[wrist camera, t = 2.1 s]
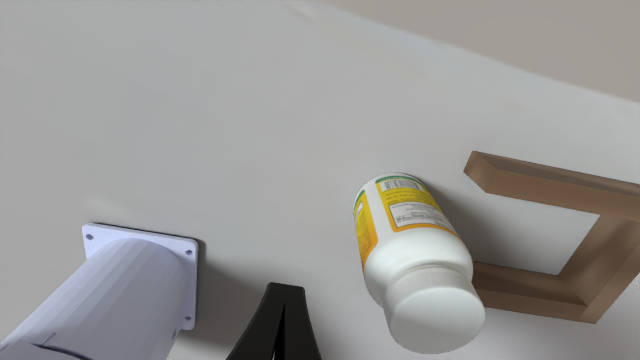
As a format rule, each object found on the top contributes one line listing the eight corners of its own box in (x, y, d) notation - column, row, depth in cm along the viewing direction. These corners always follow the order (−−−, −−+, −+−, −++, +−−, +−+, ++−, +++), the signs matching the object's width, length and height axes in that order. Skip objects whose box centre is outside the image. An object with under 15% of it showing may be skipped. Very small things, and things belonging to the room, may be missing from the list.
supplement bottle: (401, 155, 19) (466, 249, 11) (442, 209, 21) (527, 329, 13) (336, 201, 21) (347, 317, 12) (380, 248, 23) (417, 379, 14)
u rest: (564, 292, 25) (594, 324, 22) (419, 268, 23) (432, 298, 21) (644, 185, 20) (694, 208, 18) (472, 150, 19) (497, 169, 17)
